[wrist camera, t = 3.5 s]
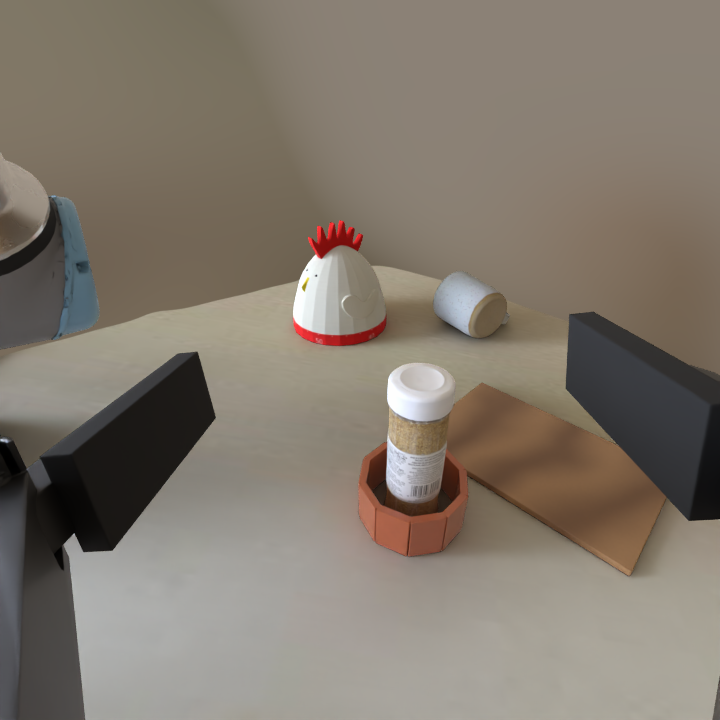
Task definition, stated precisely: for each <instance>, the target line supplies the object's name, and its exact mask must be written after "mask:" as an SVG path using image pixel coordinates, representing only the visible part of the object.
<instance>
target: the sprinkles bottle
mask: <svg viewBox="0 0 720 720" xmlns="http://www.w3.org/2000/svg"><path fill="white" fill-rule="evenodd" d="M455 389H456V384H455V380H454V378H453V377H452V375H451V374H450V373H449V372H448V371H446V370H445V369H443V368H441V367H439V366H436V365H433V364H428V363H410V364H405V365H402V366H400V367H398V368H397V369H395V370H394V371H393V372H392V373H391V375H390V377H389V380H388V392H387V400H388V404H389V407H390V410H389V429H388V442H387V468H386V483H387V487H386V499H385V503H384V506H386V507H388V508H391V509H393V510H395V511H398V512H400V513H403V514H405V515H408V516H410V517H412V516H419V515H426V514H433V513H438V497H439V491H440V488H441V481H442V474H443V468H444V461H445V454H446V447H447V432H448V424H449V414H450V412H451V410H452V408H453V406H454V399H455Z"/></svg>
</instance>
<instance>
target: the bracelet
mask: <svg viewBox="0 0 720 720" xmlns="http://www.w3.org/2000/svg"><path fill="white" fill-rule="evenodd" d="M387 442H388V441H387ZM387 442H386V443H385V442H384V443H383V444H381V445H380V446H379V447H377V448H376V449H375V450H373V451H372V452H371V453H369V454H368V455H367V456H366V457H364V459H363V463H362V468H361V473H360V478H359V517H360V519H361V521H362V522H363V524H364V526H365V527H366V529H367V531H368V532H369V534H370V535H371V537H372V539H373V540H374V541H376V543H377V544H379V545H382V546H384V547H386V548H388V549H391V550H393V551H395V552H397V553H400V554H402V555H404V556H407V554H408V557H410V556H417V555H423V554H429V553H436V552H441V550H442V551H443V550H444V549H445V548H446V546H447V545H448V544H449V543H450V542H451V541H452V540H453V539H454V537H455V536H456V535H457V534H458V533H459V532H460V531H461V528H462V525H463V520H464V515H465V510H466V505H467V500H468V484H467V471H466V470H465V467H464V466H463V465H462V464H461V463H460V462H459V461H458V460H457V459H456V458H455V457H454V456H453V455H452V454H451V453H450V452H449V451H448V450H447V449H446V454H445V461H444V468H443V474H442V481H441V488H442V490H443V491H444V492H445V493H446V494H447V495H448V497H449V498H450V499H451V500H452V501H453V502H452V503H451V504H450V505H449V506H448V507H447V508H446V509H445V510H444V511H443V512H440V513H433V514H426V515H419V516H412V517H410V516H408V515H405V514H403V513H400V512H398V511H395V510H393V509H391V508H388V507H386V506H383V505H381V504H380V503H379V501H378V500H377V498H376V497H375V495H374V494H373V492H372V490H373V489H375V488H376V487H377V486H378V485H379V484H381V483H382V482H383V481H384V480H385V479H386V468H387Z"/></svg>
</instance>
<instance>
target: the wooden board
mask: <svg viewBox="0 0 720 720" xmlns="http://www.w3.org/2000/svg"><path fill="white" fill-rule="evenodd" d="M446 449H447V450H448V451H449V452H450V453H451V454H452V455H453V456H454V457H455V458H456V459H457V460H458V461H459V462H460V463H461V464H462V465H463V466H464V467H465V470H466V471H467V475H468V476H469V477H471V478H473V479H474V480H476V481H477V482H479V483H481V484H482V485H484V486H485V487H487V488H489V489H490V490H492V491H493V492H495V493H497V494H498V495H500V496H501V497H503V498H505V499H506V500H508V501H509V502H511V503H513V504H514V505H516V506H517V507H519V508H521V509H522V510H524V511H525V512H527V513H529V514H530V515H532V516H533V517H535V518H537V519H538V520H540V521H541V522H543V523H545V524H546V525H548V526H549V527H551V528H553V529H554V530H556V531H557V532H559V533H561V534H562V535H564V536H565V537H567V538H569V539H570V540H572V541H573V542H575V543H577V544H578V545H580V546H581V547H583V548H585V549H586V550H588V551H589V552H591V553H593V554H594V555H596V556H597V557H599V558H601V559H602V560H604V561H605V562H607V563H609V564H610V565H612V566H613V567H615V568H617V569H618V570H620V571H621V572H623V573H625V574H626V575H628V576H630V575H631V573H632V571H633V569H634V567H635V565H636V563H637V561H638V558H639V556H640V554H641V552H642V550H643V548H644V546H645V543H646V541H647V539H648V537H649V535H650V533H651V530H652V528H653V526H654V524H655V522H656V520H657V517H658V515H659V513H660V511H661V509H662V507H663V505H664V502H665V500H666V498H667V497H666V496H665V495H664V494H663V493H662V492H661V491H660V489H659V488H658V487H657V486H656V485H655V484H654V483H653V482H652V481H651V480H650V479H649V478H648V477H647V475H646V474H645V473H644V472H643V471H642V470H641V469H640V468H639V467H638V466H637V465H636V464H635V463H634V462H633V460H632V459H631V458H630V457H629V456H628V455H627V454H626V453H625V452H624V451H623V450H622V449H621V448H620V446H618V445H616V444H614V443H612V442H609V441H607V440H605V439H603V438H601V437H599V436H596V435H594V434H592V433H590V432H588V431H586V430H583V429H581V428H579V427H577V426H575V425H573V424H570V423H568V422H566V421H564V420H562V419H560V418H558V417H555V416H553V415H551V414H549V413H547V412H545V411H542V410H540V409H538V408H536V407H534V406H532V405H529V404H527V403H525V402H523V401H521V400H519V399H516V398H514V397H512V396H510V395H508V394H506V393H503V392H501V391H499V390H497V389H495V388H493V387H491V386H488V385H486V384H484V383H481V384H479V385H478V386H477V387H476V388H474V389H473V390H472V391H471V392H469V393H468V394H467V395H466V396H464V397H463V398H462V399H460V400H459V401H458V402H457V403H455V404H454V406H453V408H452V410H451V412H450V414H449V424H448V432H447V447H446Z"/></svg>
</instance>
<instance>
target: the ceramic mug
mask: <svg viewBox="0 0 720 720" xmlns="http://www.w3.org/2000/svg"><path fill="white" fill-rule="evenodd" d="M433 307H434V311H435V313H436V315H437V316H438V317H439V318H440V319H442V320H444V321H446V322H447V323H449V324H450V325H452V326H454V327H455V328H457V329H459V330H460V331H462V332H463V333H465V334H467V335H469V336H472V337H474V338H484V337H487V336H489V335H491V334H492V333H493V332H495V331H496V330H497V329H498V327H499V326H500V325H501V324H506V322H507V320H508V318H509V316H510V315H509V314H508V313H507V302H506V299H505V298H504V296H503V295H502V294H501V293H500V292H499V291H497V290H496V289H495V288H493V287H491V286H489V285H487V284H485V283H484V282H482V281H480V280H479V279H477V278H475V277H474V276H472V275H470V274H468V273H467V272H464V271H458V272H454V273H452V274H450V275H449V276H447V277H446V278H445V279H444V280H443V281H442V283H441V284H440V285H439V287H438V288H437V291H436V293H435V296H434V301H433Z"/></svg>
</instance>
